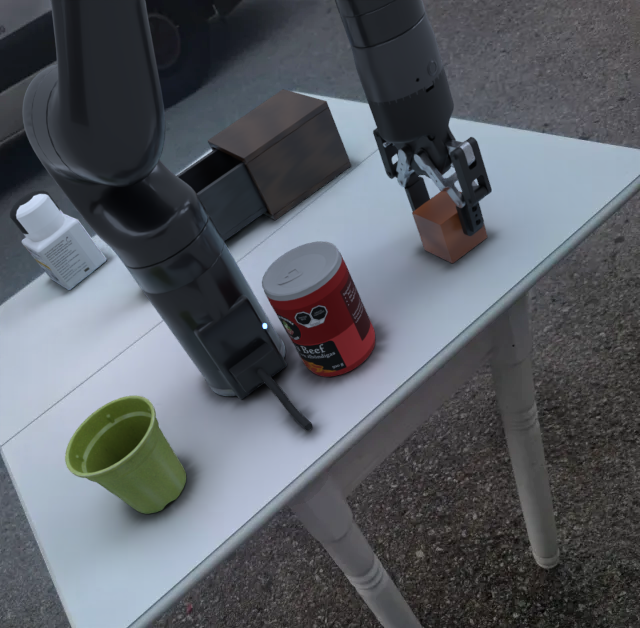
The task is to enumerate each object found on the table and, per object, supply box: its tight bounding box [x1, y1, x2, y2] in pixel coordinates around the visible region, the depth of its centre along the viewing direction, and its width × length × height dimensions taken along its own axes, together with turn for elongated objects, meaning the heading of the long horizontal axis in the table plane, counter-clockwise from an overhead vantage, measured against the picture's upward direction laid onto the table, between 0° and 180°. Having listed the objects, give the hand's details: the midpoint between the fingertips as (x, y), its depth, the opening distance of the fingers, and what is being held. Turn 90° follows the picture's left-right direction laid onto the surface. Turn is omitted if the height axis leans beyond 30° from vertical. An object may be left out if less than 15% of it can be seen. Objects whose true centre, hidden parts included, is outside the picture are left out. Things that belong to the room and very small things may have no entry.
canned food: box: [261, 240, 376, 378], centre depth 69 cm, size 8×8×11 cm
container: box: [9, 189, 107, 291], centre depth 107 cm, size 8×8×13 cm
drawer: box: [175, 149, 268, 242], centre depth 98 cm, size 17×11×8 cm
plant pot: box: [64, 394, 187, 515], centre depth 67 cm, size 9×9×9 cm
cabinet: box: [207, 88, 353, 221], centre depth 100 cm, size 14×13×10 cm
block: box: [411, 190, 488, 264], centre depth 76 cm, size 5×5×5 cm
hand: (448, 220), depth 77 cm, fingers open, 8 cm apart
